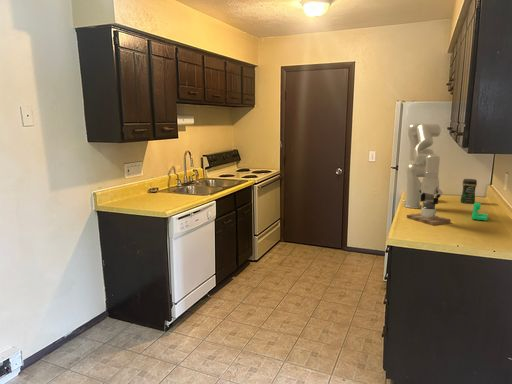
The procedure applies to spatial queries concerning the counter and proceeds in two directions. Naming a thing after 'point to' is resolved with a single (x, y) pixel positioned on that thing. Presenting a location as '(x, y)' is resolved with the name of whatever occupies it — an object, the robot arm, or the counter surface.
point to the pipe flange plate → (428, 217)
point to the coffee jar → (468, 191)
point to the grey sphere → (428, 204)
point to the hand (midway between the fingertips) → (429, 202)
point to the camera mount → (478, 215)
